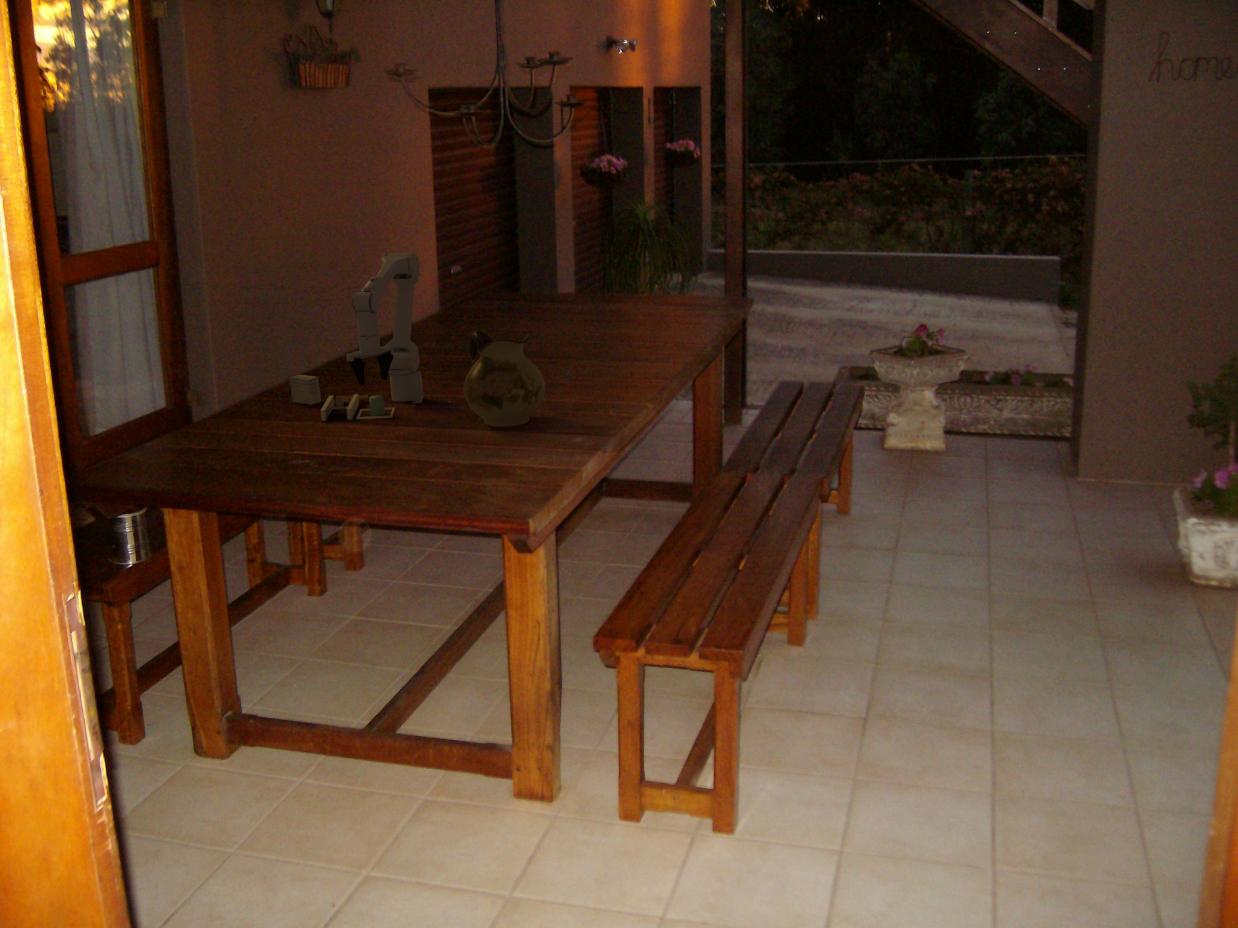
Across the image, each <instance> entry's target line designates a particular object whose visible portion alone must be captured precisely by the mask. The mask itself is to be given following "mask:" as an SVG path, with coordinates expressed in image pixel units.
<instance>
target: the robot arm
mask: <svg viewBox="0 0 1238 928" xmlns="http://www.w3.org/2000/svg"><path fill="white" fill-rule="evenodd" d="M420 262H421V261H420V259H419V257H418V255H417V253H415V252H410V253H400V252H398V253H397V252H396V253H394V252H385V253H384V254H383V256H382V257H381V267H380V270H379V271H378V273H377V275H376V276H370V278H369V280H368V281H366V284H365V285H364V287H362V289H361V290H360V291H357V292H356V293H354V294H352V297H351V305H350V307H351V310H352V311H353V314H354V318H355V319H356V325H357V326H356V327H357V334H358V344H359V345H358V346H359V350H355V351H353V352H349V353H346V361H347V362H348V364H349V366H350V367H351V369H352V370H353V372H354V374H355V377H356V380H357V383H358V385H360V386H364V385H366V380H365V379H366V377H365V369H366V367H365V366H366V362H365V361H363V359H366V358H368V359H369V358H371V357H372V358H373V357H377V361H378V364H379V365H378V366H379V373H380V378H381V380H383V381H388V377H389V383H390V385H389V386H390V394H391V401H392V402H393V401H394V402H409V401H412V404H422V402H423V400H424V390H423V379H422V372H421V371H418V370H417V369H418V368H419V366H420V357H419V347H418V345H416V344H415V343H414V342H413V341H412V340H411V335H412V334H411V332H412V321H413V319H412V318H413V308H414V297H415V294H414V293H415V285H416V284H417V283H419V280H420V279H419V278H420V270H421V263H420ZM389 283H392V284H394V285H395V286H396V298H395V310H394V324H393V334H392V339H391V340H390V341H389V342H387V343H386V344H385V345H384V346H381V341H380V333H379V332H380V330H379V321H378V312H379V311H380V308H381V304H382V298H384V296H385V294H386V293H387V291H388V284H389Z"/></svg>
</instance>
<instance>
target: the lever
mask: <svg viewBox="0 0 1238 928" xmlns="http://www.w3.org/2000/svg"><path fill="white" fill-rule="evenodd" d="M353 395H354V394H351V395H336V396H335V406H334V407H327V409H330V410H331V409H332V410H347V407H348V406H346V405H344V403H348V402H349V403H350V400H351V399H352V397H353ZM358 398H359V400H360V399H369V395H368V394H358Z"/></svg>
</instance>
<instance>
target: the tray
mask: <svg viewBox="0 0 1238 928" xmlns="http://www.w3.org/2000/svg"><path fill="white" fill-rule="evenodd" d="M384 408H385V411H389V410H390V411H391V412H390V414H389V415H382V416H361V415H362V413H363V412H370V408H361V409H359V411H358V413H357V415H356V417H355V419H356V420H370V419H372V420H373V419H375V420H376V419H391V418H393V416H394V414H395V411H396V406H394V407H384Z"/></svg>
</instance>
